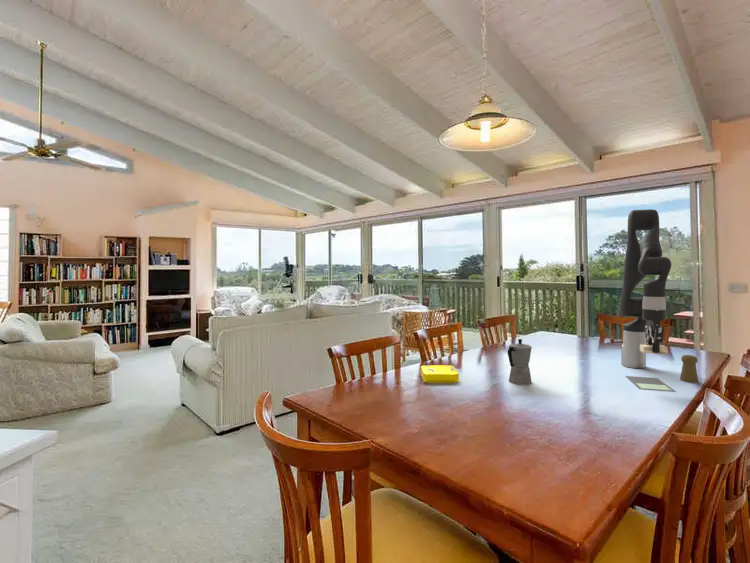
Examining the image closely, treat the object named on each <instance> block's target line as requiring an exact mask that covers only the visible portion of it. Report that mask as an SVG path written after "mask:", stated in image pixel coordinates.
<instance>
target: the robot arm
mask: <svg viewBox="0 0 750 563" xmlns="http://www.w3.org/2000/svg"><path fill="white" fill-rule="evenodd" d="M637 231H639V232H640V231H641V232H643V231H648V232H647V233H646V234H645V235H644V236H643V237H642V238H641V240H640V241H639V240H638V237H637ZM626 232H627V239H626V249H625V250H626V251H625V257H624V258H625V259H624V264H623V265H624V266H623V267H624V269H623V281H622V289H621V290H622V291H621V296H620V301H619V313H620V315H621V316H623V317H636V318H635V320H632V321H630V322H626V323H624V324H623V326H622V330H623V331H622V332H623V334H622V335H623V337H622V340H623V342H622V344H621V351H620V352H621V353H620V354H621V358H620V359H621V360H620V361H621V362H620V363H621V365H622V366H623V367H626V368H633V369H646V368H647V353H643V352H641V351H640V344H641V345H652V352H653V353H652V354H656V353H659V352H660V345H661V343H663V341H664V334H665V328H664V327H662V324H661V322H664V321H667V300H666V287H667V286H666V283H667V280H668V278H669V275H670V272H671V269H672V261H671V260H670V259H669V257H666V256H662V255H663V250H662V245H661V241H660V216H659V212H658V211H657V210H656V209H652V208H651V209H650V208H649V209H634V210H630V211H629V214H628V217H627V231H626ZM647 276H658V277H657V279H654V280H650V281H649V280H648V281H645V282H643V287H642V288H643V289H642V290H643V291H642V293H643V294H642V297H641V296H640V297H638V296H637V297H635V296H634V297H631V296H632V294H633V292H634V290H635V288H636V287H637V286H638V285H639V284H640V283H641V282H642V280H643V279H644V278H645V277H647Z"/></svg>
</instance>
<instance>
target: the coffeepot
mask: <svg viewBox="0 0 750 563" xmlns="http://www.w3.org/2000/svg"><path fill="white" fill-rule="evenodd" d="M517 340H518V343H512V344H509V345H508V350H507V357H508V360H509V365H510V371H509V378H508V381H509V382H510V383H511V382H512V384H514V383H515V384H516V385H521V384H523V385H525V384H526V385H530V384H531V383H532V377H531V376H532V375H531V370H530V366H529V365H530V364H529V363H530V361H531V355H532V347H533V346H531V345H530V344H525V343H523V339H522V338H519V339H517Z"/></svg>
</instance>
